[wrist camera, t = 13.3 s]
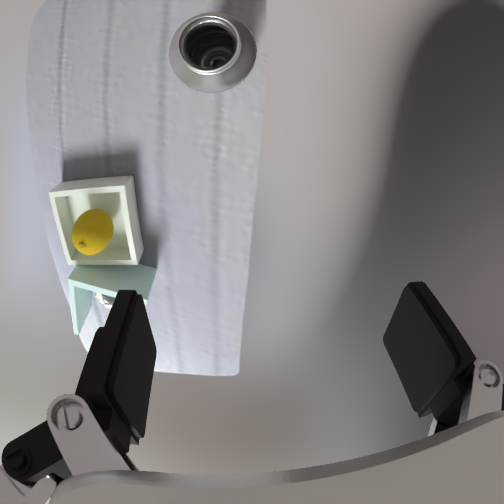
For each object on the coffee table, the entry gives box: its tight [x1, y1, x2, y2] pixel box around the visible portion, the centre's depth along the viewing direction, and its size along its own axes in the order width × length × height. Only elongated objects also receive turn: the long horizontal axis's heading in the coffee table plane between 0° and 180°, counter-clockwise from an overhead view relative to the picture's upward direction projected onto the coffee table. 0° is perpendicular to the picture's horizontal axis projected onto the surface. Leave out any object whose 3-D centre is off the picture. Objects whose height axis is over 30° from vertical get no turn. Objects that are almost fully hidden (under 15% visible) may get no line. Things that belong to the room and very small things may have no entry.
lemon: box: [72, 209, 114, 255], centre depth 35 cm, size 6×6×8 cm
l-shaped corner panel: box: [68, 264, 157, 335], centre depth 43 cm, size 12×12×8 cm
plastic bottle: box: [169, 12, 257, 93], centre depth 22 cm, size 6×7×20 cm
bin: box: [49, 175, 144, 265], centre depth 38 cm, size 12×12×4 cm
